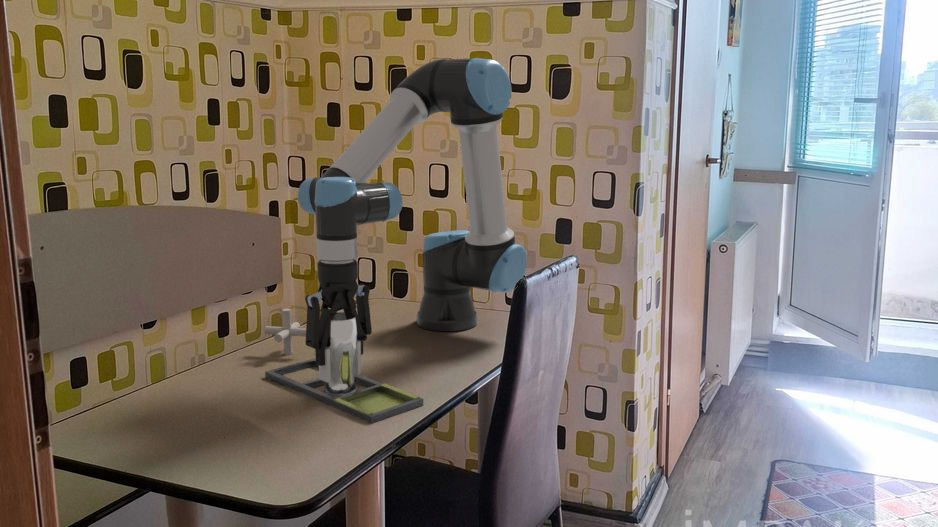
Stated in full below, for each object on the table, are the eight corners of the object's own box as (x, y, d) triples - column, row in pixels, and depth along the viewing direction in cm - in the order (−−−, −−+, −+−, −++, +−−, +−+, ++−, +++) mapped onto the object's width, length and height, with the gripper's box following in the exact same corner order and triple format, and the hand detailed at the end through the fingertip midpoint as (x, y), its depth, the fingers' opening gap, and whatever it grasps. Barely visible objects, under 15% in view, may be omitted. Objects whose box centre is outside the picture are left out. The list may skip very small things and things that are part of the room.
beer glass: (336, 382, 172) (335, 309, 169) (365, 388, 169) (364, 314, 166) (315, 393, 166) (313, 317, 163) (345, 399, 163) (343, 322, 160)
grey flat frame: (315, 363, 183) (315, 357, 183) (423, 405, 160) (423, 397, 160) (265, 377, 175) (265, 370, 174) (371, 423, 151) (371, 415, 151)
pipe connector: (300, 362, 184) (299, 317, 182) (257, 358, 186) (255, 314, 184) (318, 348, 194) (316, 305, 192) (276, 345, 196) (274, 302, 194)
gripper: (365, 250, 171) (367, 360, 176) (281, 264, 158) (286, 383, 163) (390, 255, 166) (391, 369, 171) (305, 270, 153) (309, 393, 157)
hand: (340, 375), depth 167 cm, fingers closed on beer glass, 7 cm apart
